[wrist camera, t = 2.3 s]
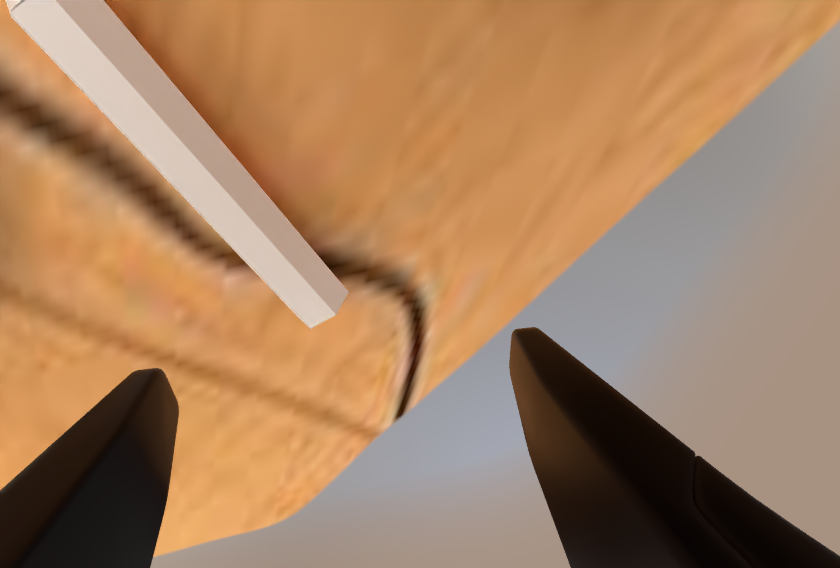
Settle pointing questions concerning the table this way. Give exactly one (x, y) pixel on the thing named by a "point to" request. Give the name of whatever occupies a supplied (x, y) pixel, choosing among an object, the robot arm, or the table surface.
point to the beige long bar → (180, 146)
